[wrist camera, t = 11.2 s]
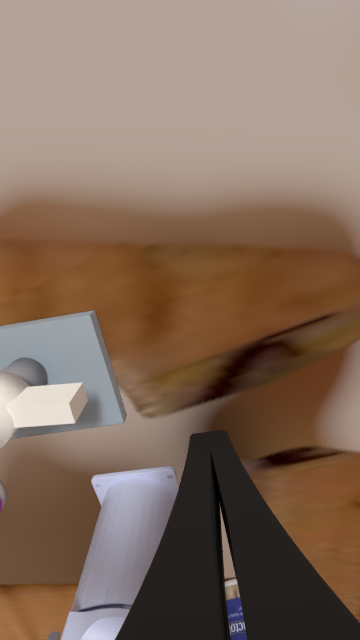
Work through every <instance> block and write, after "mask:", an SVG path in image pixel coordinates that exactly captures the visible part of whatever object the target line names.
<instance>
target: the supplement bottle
mask: <svg viewBox="0 0 360 640" xmlns="http://www.w3.org/2000/svg"><path fill="white" fill-rule="evenodd" d="M6 499H7V493H6V489H5V487H4V485H3V483H2V482H1V481H0V512H1V511H2V509H3V507H4V505H5V503H6Z"/></svg>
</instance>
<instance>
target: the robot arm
mask: <svg viewBox="0 0 360 640" xmlns="http://www.w3.org/2000/svg"><path fill="white" fill-rule="evenodd" d="M91 482H92V485H93V487H94V489H95V492H96V494H97V496H98V499H99V502H100V504H101V506H102V507H101V510H100V514H99V517H98V521H97V524H96V527H95V531H94V534H93V538H92V541H91V545H90V548H89V551H88V555H87V558H86V562H85V565H84V568H83V572H82V575H81V579H80V582H79V586H78V589H77V592H76V596H75V599H74V603H73V606H72V609H71V611H70V612H69V614H68V617H67V621H66V624H65V627H64V631H63V634H62V638H61V640H231V635H230V627H229V619H228V611H227V603H226V592H225V581H224V566H223V550H222V535H221V520H220V507H221V511H222V516H223V521H224V525H225V529H226V534H227V538H228V543H229V547H230V552H231V557H232V561H233V566H234V570H235V575H236V579H237V584H238V589H239V594H240V600H241V606H242V612H243V619H244V625H245V631H246V637H247V640H360V623H359V622H358V620H357V619H356V618H355V617H354V616H353V614H352V613H351V612H350V611H349V610H348V608H347V607H346V606H345V605H344V604H343V603H342V601H341V600H340V599H339V598H338V597H337V595H336V594H335V593H334V592H333V591H332V589H331V588H330V587H329V586H328V585H327V583H326V582H325V581H324V580H323V579H322V578H321V576H320V575H319V574H318V573H317V571H316V570H315V569H314V567H313V566H312V565H311V564H310V562H309V561H308V560H307V559H306V557H305V556H304V555H303V553H302V552H301V551H300V550H299V548H298V547H297V546H296V544H295V543H294V542H293V540H292V539H291V538H290V536H289V535H288V534H287V532H286V531H285V529H284V528H283V527H282V525H281V524H280V523H279V521H278V520H277V518H276V517H275V515H274V514H273V512H272V511H271V510H270V508H269V507H268V505H267V504H266V502H265V501H264V499H263V498H262V496H261V494H260V493H259V491H258V490H257V488H256V487H255V485H254V483H253V482H252V480H251V478H250V477H249V475H248V473H247V472H246V470H245V468H244V466H243V465H242V463H241V461H240V459H239V457H238V455H237V453H236V451H235V449H234V447H233V445H232V443H231V440H230V438H229V435H228V433H227V431H225V430H219V431H211V432H204V433H196V434H192V435H191V436H190V442H189V448H188V454H187V459H186V463H185V467H184V471H183V475H182V478H181V482H180V486H179V485H178V481H177V477H176V473H175V469H174V468H173V467H172V466H164V467H156V468H148V469H139V470H132V471H123V472H115V473H107V474H99V475H94V476H93V478H92V481H91ZM219 502H220V504H219ZM59 636H60V632H51V633H50V634H49V636H48V638H47V639H45V640H59Z"/></svg>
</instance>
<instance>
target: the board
mask: <svg viewBox="0 0 360 640" xmlns="http://www.w3.org/2000/svg"><path fill="white" fill-rule="evenodd" d="M0 370H3V371H8V372H11V373H13V374H15V375H17V376H19V377H21V378H22V379H23V380H24V381H26V382H27V383H28V385H29V386H30V387H33V386H45V385H57V384H69V383H82V382H83V385H84V389H85V392H86V396H87V400H88V401H87V403H86V405H85V407H84V408H83V410H82V412H81V414H80V416H79V417H78V419H77V421H76V423H73V424H60V425H46V426H33V427H20V428H18V430H17V431H16V432H15V433H14V434H13V435H12V437H11V438H10V439H12V438H20V437H27V436H34V435H42V434H49V433H56V432H63V431H71V430H78V429H85V428H93V427H101V426H108V425H115V424H123V423H124V422H125V419H126V411H125V408H124V405H123V402H122V398H121V395H120V391H119V388H118V385H117V382H116V378H115V375H114V372H113V369H112V365H111V362H110V359H109V356H108V352H107V349H106V346H105V343H104V339H103V336H102V333H101V329H100V326H99V323H98V320H97V316H96V313H95V310H94V311H88V312H82V313H76V314H70V315H64V316H58V317H52V318H47V319H41V320H35V321H29V322H23V323H17V324H11V325H5V326H0Z"/></svg>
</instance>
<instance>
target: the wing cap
mask: <svg viewBox="0 0 360 640" xmlns="http://www.w3.org/2000/svg"><path fill="white" fill-rule="evenodd" d="M87 401H88V400H87V396H86V392H85V389H84V385H83V382H82V383H69V384H57V385H45V386H33V387H30V386H29V385H28V383H27V382H26V381H24V380H23V379H22V378H21V377H19V376H17V375H15V374H13V373H11V372H8V371H3V370H0V448H1V447H3V446H4V445H5V444H6V443H7V441H8V440H9V439H10V438H11V437H12V435H13V434H14V433H15V432H16V431H17V430H18V428H20V427H33V426H46V425H60V424H73V423H76V421H77V419H78V417H79V416H80V414H81V412H82V410H83V408H84V407H85V405H86V403H87Z"/></svg>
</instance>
